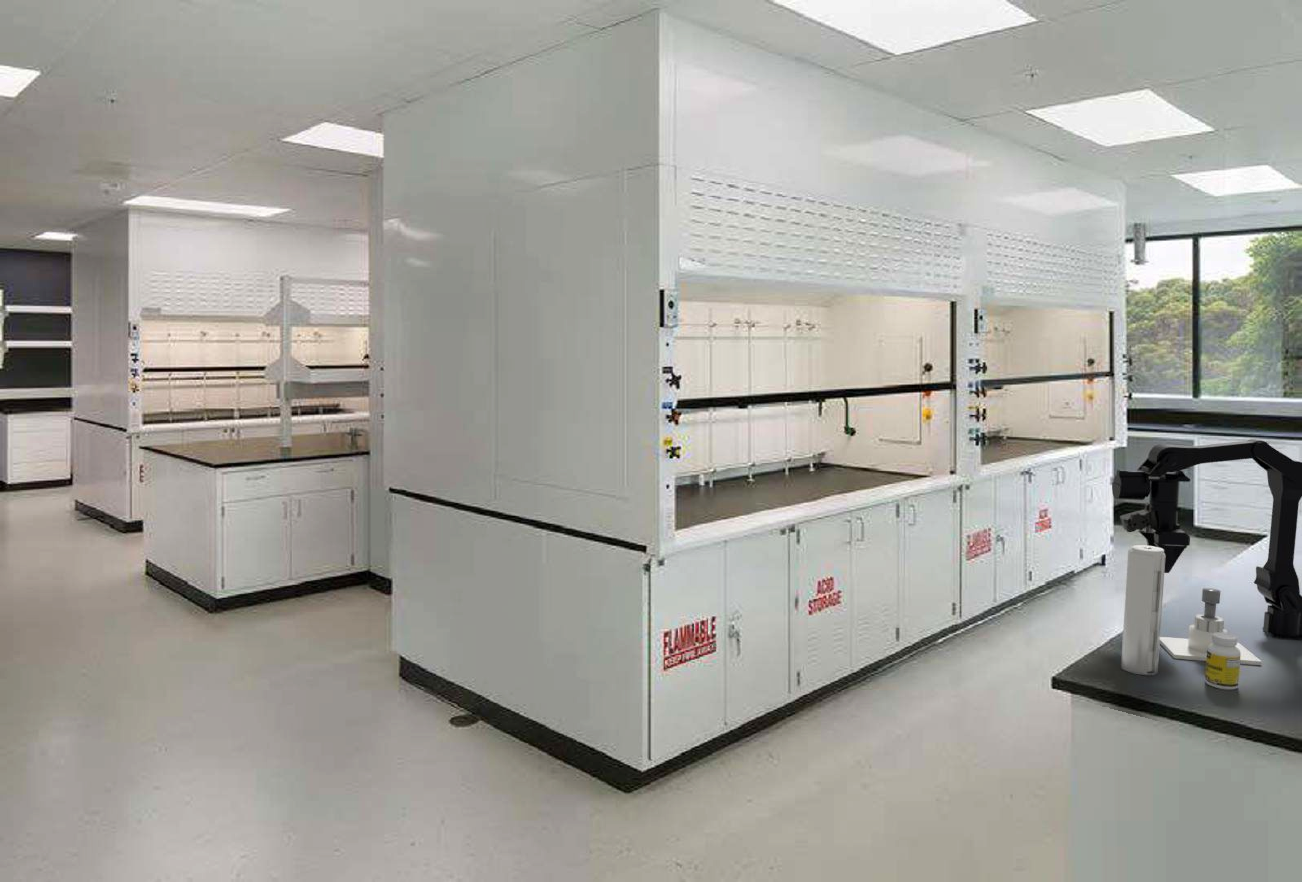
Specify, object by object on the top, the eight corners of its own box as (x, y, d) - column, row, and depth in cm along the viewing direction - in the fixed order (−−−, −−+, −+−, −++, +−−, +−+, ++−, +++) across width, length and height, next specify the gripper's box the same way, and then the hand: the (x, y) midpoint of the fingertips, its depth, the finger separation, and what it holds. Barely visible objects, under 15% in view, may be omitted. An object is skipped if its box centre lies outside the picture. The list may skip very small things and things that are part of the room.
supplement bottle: (1198, 680, 173) (1201, 631, 172) (1224, 679, 174) (1228, 630, 173) (1218, 690, 168) (1221, 640, 167) (1245, 690, 169) (1249, 639, 167)
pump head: (1215, 615, 190) (1217, 588, 189) (1220, 619, 187) (1222, 592, 186) (1198, 614, 190) (1200, 587, 190) (1203, 618, 187) (1205, 591, 187)
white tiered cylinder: (1219, 644, 192) (1221, 614, 191) (1232, 655, 185) (1234, 624, 184) (1183, 641, 193) (1185, 611, 193) (1194, 652, 187) (1196, 621, 186)
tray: (1238, 646, 193) (1238, 642, 193) (1261, 665, 182) (1261, 661, 182) (1156, 640, 197) (1156, 636, 197) (1174, 658, 185) (1174, 654, 185)
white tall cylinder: (1154, 666, 181) (1162, 545, 178) (1160, 677, 175) (1169, 552, 172) (1118, 662, 183) (1125, 542, 180) (1123, 673, 177) (1131, 549, 174)
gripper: (1114, 492, 213) (1111, 556, 215) (1135, 506, 195) (1132, 576, 197) (1166, 494, 210) (1162, 559, 212) (1192, 508, 192) (1188, 578, 194)
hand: (1160, 567), depth 204 cm, fingers open, 9 cm apart
